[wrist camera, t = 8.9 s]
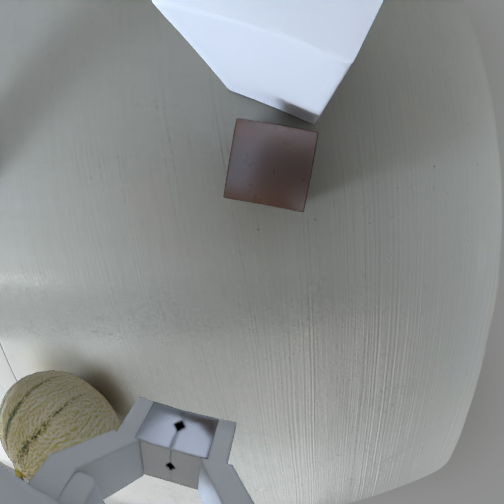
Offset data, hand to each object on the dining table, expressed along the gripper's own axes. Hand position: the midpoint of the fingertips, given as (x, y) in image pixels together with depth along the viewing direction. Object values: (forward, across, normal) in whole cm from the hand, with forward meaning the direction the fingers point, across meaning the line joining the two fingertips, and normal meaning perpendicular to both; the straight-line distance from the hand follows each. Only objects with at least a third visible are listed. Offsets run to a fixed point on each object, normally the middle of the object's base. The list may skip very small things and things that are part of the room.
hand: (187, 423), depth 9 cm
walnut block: (+18, 0, -7) cm, 19 cm away
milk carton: (+18, 0, -15) cm, 24 cm away
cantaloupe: (+18, +17, +22) cm, 33 cm away
